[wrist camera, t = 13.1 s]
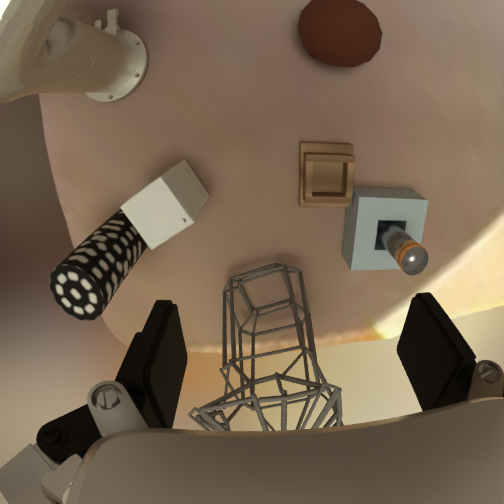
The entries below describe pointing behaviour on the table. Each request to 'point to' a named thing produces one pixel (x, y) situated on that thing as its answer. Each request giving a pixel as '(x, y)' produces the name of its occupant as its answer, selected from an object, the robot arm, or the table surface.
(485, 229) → the table surface
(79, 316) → the spotted tube
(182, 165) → the supplement box
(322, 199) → the mount
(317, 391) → the geometric lantern
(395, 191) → the socket
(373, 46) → the muffin
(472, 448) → the robot arm
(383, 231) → the pin
